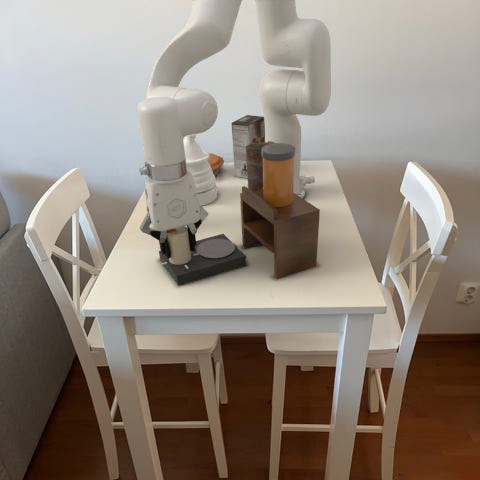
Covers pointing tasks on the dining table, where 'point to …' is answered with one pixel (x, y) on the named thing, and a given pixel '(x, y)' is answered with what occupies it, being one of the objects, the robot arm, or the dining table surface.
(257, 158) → the candle
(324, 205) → the dining table surface
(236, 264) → the hot plate
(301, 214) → the shelf
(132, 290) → the dining table surface
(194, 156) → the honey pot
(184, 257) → the knob
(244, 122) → the coffee box
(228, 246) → the pale grey disc
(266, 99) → the robot arm
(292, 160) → the jar
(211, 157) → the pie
